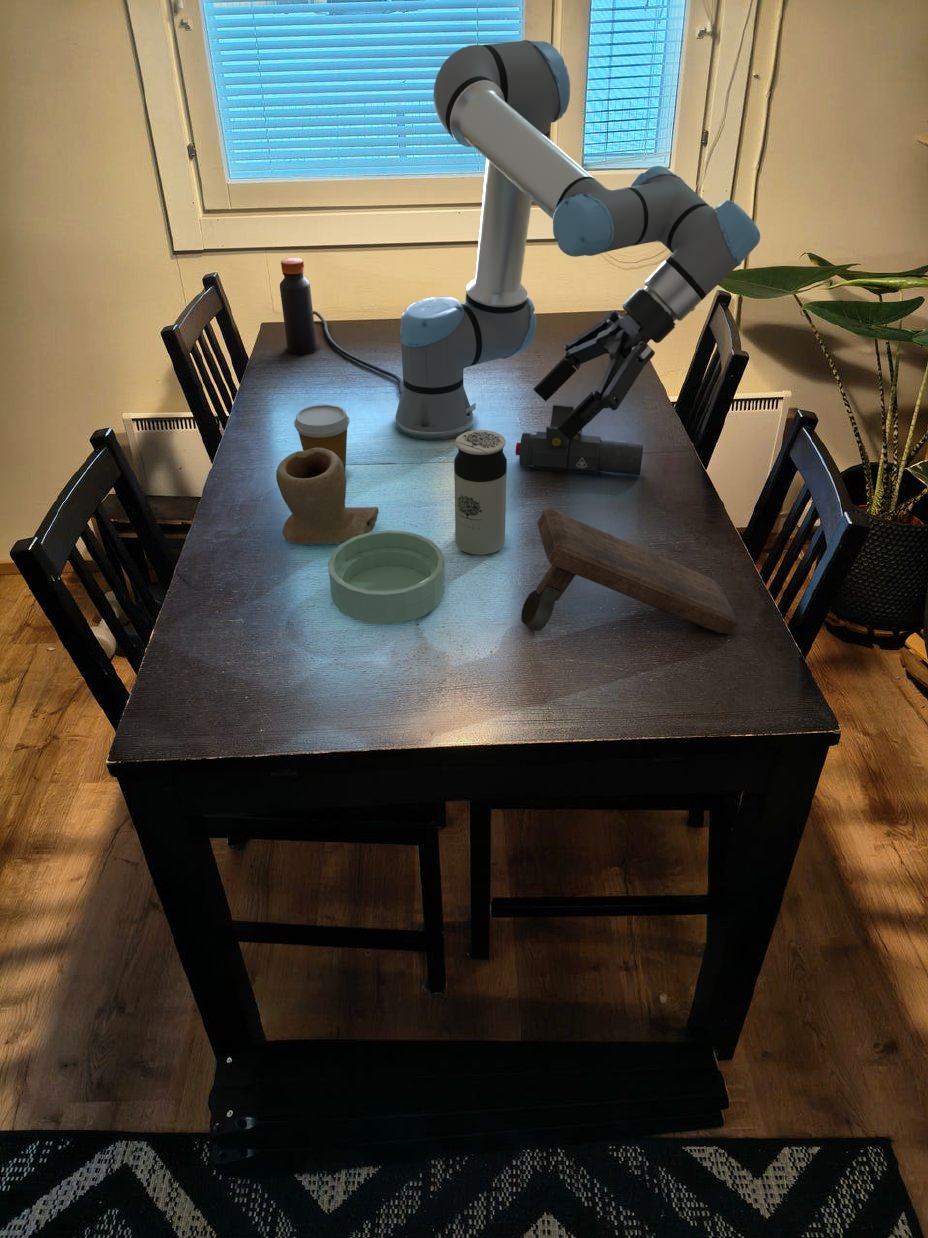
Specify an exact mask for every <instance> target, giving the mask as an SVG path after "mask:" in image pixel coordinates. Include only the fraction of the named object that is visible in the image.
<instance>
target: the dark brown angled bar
mask: <svg viewBox="0 0 928 1238" xmlns="http://www.w3.org/2000/svg"><path fill="white" fill-rule="evenodd" d="M536 524H537V528H538V531H539V535H540V538H541V543H542V546H543V549H544V553H545V556H546V559H547V561H548V563H549V564H550V565H551V566H550V567H549V569H548V570H547V572H545V574H544V576H543V577H542V579H541V581H540V582H539V583H538V585H537V587H536V589H534V590H532V591H531V592H530V593H529V594H528V595H527V597H526V598H525V601H524V603H523V605H522V609H521V613H520V615H521V616H520V619H521V620H520V621H521V623H522V624H523V625H524V626H526V627H528V628H531V629H533V630H536V631H541V630H543V629H544V628H545V627H546V626H547V624H548V623H549V622H550V620H551V617H552V614H553V611H554V609H555V608H554V607H555V603H556V602H557V601H559V600H560V598H561V597H562V596H563V594H564V593H565V591H566V590H567V589H568V587H569V586H570V584H571V583H572V581H573V580H574V579H575V577H576V576H577V577H578V576H579V577H581V578H583V579H586V580H588V581H591V582H592V583H595V584H597V585H600V586H603V587H605V588H608V589H610V590H613V591H614V592H617V593H620V594H622V595H624V596H627V597H630V598H632V599H635V600H637V601H639V602H642V603H644V604H647V605H649V606H652V607H654V608H656V609H659V610H661V611H664V612H666V613H669V614H671V615H674V616H675V617H678V618H681V619H683V620H685V621H688V622H690V623H692V624H695V625H698V626H700V627H702V628H705V629H707V630H710V631H712V632H715V633H718V634H727V635H730V634H731V633H732V632H733V631H734V630H735V628H736V627H737V626H738V625H739V621H738V618H737V616H736V613H735V612H734V610H733V608H732V606H731V604H730V603H729V601H728V598H727V596H726V595H725V593H724V591H723V589H722V587H721V586H720V584H719V583H717V582H716V581H715V580H714V579H713V578H711V577H709V576H707V575H705V574H702V573H700V572H697V571H696V570H693V569H691V568H688V567H686V566H684V565H681V564H680V563H677V562H674V561H672V560H671V559H668V558H665V557H663V556H661V555H658V554H656V553H655V552H651V551H649V550H646V549H645V548H643V547H640V546H638V545H636V544H633V543H631V542H628V541H626V540H624V539H622V538H619V537H617V536H614V535H613V534H610V533H608V532H606V531H603V530H601V529H599V528H596V527H594V526H592V525H590V524H588V523H585V522H583V521H581V520H578V519H576V518H573V517H571V516H569V515H566V514H564V513H562V512H559V511H557V510H556V509H553V508H551V507H550V508H546V509H544V510H543V512H542V514H541V515H540V516H539V518H538V520H537V523H536Z"/></svg>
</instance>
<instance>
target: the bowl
mask: <svg viewBox="0 0 928 1238" xmlns="http://www.w3.org/2000/svg"><path fill="white" fill-rule="evenodd" d="M327 570H328V578H329V587H330V594H331V600H332V603H333V605H334V606H335V607H336V608H337V610H338V611H339V612H340V613H342V614H344V615H345V616H347V617H348V618H350V619H352V620H355V621H358V622H363V623H366V624H372V625H388V626H389V625H395V624H401V623H408V622H411V621H413V620H416V619H419V618H422V617H423V616H426V615H427V614H428V613H430V612H431V611H433V610H435V609H436V608H437V606H438V605H439V604H440V602H441V601H442V599H443V598H444V594H445V588H446V583H445V582H446V581H445V579H446V578H445V556H444V554H443V551H442V549H441V548H440V546H439V545H437V544H436V543H435V542H434V541H433V540H431V539H429V538H427V537H425V536H423V535H421V534H417V533H414V532H409V531H406V530H394V529H393V530H389V529H385V530H376V531H371V532H369V533H365V534H362V535H359V536H356V537H353V538H351V539H349V540H347V541H346V542H344V543H339V545H338V546H336V548H335V549H334V550H333V551H332V552H331V554H330V557H329V559H328V562H327Z"/></svg>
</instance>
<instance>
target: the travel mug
mask: <svg viewBox="0 0 928 1238" xmlns="http://www.w3.org/2000/svg"><path fill="white" fill-rule="evenodd" d="M454 443H455V446H456V448H457V453H456V454H455V457H454V460H453V465H454V466H453V467H454V468H453V471H454V472H453V476H454V477H453V478H454V481H453V482H454V484H453V485H454V538H455V539H454V541H455V545H456V547H457V548H458V549H459V550H461V551H462V552H465V553H467V554H471V555H477V556H478V555H479V556H481V555H490V554H493V553H496V552H498V551H500V550H502V548H503V547H504V546H505V544H506V519H507V516H506V515H507V473H508V459H507V457H506V455H505V453H504V449H505V446H506V444H507V441H506V438H505V437H504V436H503V435H502V434H501V433H498V432H496V431H494V430H493V431H492V430H488V429H473V430H468V431H467V432H465V433H463V434H461V435H459V436H457V437H456V439H455V442H454Z"/></svg>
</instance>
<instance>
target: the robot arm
mask: <svg viewBox="0 0 928 1238" xmlns="http://www.w3.org/2000/svg"><path fill="white" fill-rule="evenodd" d="M434 81H435V82H434V85H433V95H432V96H433V97H432V98H433V106H434V111H435V113H436V117H437V119H438V120H439V122H440V123H441V126H442V127H443V129H444V130H445V131H446V133H448V134H449V136H450V137H452V138H453V139H454V140H455V141H456V142H457V143H458V144H459V145H461V146H463V147H466V148H474V149H475V150H477V152H479V153H480V155H482V156H483V157H484V158H485V159H486V161H485V172H484V182H483V191H482V192H483V193H482V203H481V204H482V205H481V215H480V224H479V225H480V226H479V235H478V246H477V247H478V248H477V257H476V268H475V277H474V279H472V280H471V281H470V282H469V283H468V284H467V285H466V287H465V288H466V289H465V298H464V299H465V301H464V302H461V301H460V300H458V299H456V298H454V297H450V296H440V297H435V296H434V297H433V296H432V297H427V298H423V299H421V300H418V301H415V302H414V303H411V304H410V305H409V306H407V308H405V309H404V311H403V313H402V314H401V317H400V331H399V339H400V344H401V345H400V350H401V367H402V378H401V377H400V376H399V375H397V374H395V373H393V372H391V371H388V370H386V369H383V368H380V367H379V366H377V365H374V364H372V363H370V362H368V361H365V360H363V359H361V358H359V357H357V356H355V355H353V354H351V353H349V352H348V351H346V350H344V348H342V347H341V346H339V345H338V344H337V343H336V341H334V340H333V337H331V334H330V332H329V328H328V322H327V320H325V318H324V317H323V316H322V314H320V313H319V312H318V311H316V310H313V316H316V317H317V318H318V319H319V320H320V321H321V322H322V324H323V326H324V327H323V330H324V333H325V336H326V338H327V339H328V341H329V343H330V344H331V345H332V346H333V347H334V348H335V349H336V350H337V351H338V352H340V353H341V354H343V355H344V356H346V357H347V358H349V359H351V360H353V361H355V362H357V363H359V364H361V365H363V366H366V367H367V368H370V369H372V370H374V371H377V372H379V373H381V374H384V375H386V376H388V377H391V378H393V379H394V380H396V381H397V382H398V383H399V392H400V398H399V400H398V405H397V409H396V412H395V426H396V428H397V430H398V431H399V432H400V433H402V434H403V435H404V436H407V437H409V438H412V439H413V438H414V439H417V440H424V441H443V440H449V439H453V438H457V437H458V436H459V435H461V434H463V433H465V432H468V431H470V430H471V429H472V427H473V425H474V413H473V412H474V411H475V410H476V409H477V408H476V407H477V404H476V402H474V403H473V404H470V401H469V398H468V395H467V391H466V389H465V387H464V386H465V385H464V369H466V368H469V367H472V366H476V365H480V364H484V363H488V362H491V361H495V360H499V359H501V360H503V359H508V358H511V357H512V356H515V355H517V354H520V353H522V352H524V351H526V349H527V348H528V347H529V346H530V345H531V344H532V342H533V340H534V337H535V333H536V330H537V315H536V314H535V313H534V312H535V310H536V309H535V305H534V303H533V301H532V299H531V298H530V297H529V295H528V290H527V288H525V286H524V285H523V284H522V280H523V279H522V278H523V270H524V263H525V256H526V255H525V254H526V248H527V241H528V240H527V239H528V231H529V225H530V217H531V209H532V202H533V203H534V204H535V205H537V207H538V208H539V209H541V210H542V212H543V213H545V214H546V215H547V216H548V217H549V218H551V220H552V233H553V234H552V235H553V237H554V239H555V240H557V243H558V244H557V246H558V248H559V250H560V251H561V252H562V253H564V254H565V255H566V256H570V257H572V258H573V257H574V258H577V257H584V256H587V257H593V256H597V255H600V254H603V253H608V252H611V251H612V252H613V251H617V250H620V249H625V248H630V247H634V246H639V245H645V244H648V243H649V244H650V243H654V242H660V243H661V244H662V245H664V247H666V249H668V251H670V252H671V253H670V256H669V257H668V258H666V260H664V261H663V262H662V263H661V264H660V265H659V266H658V267H657V268H656V269H655V270H654V271H653V273H651V274H650V275H649V277H648V278H647V279H645V281H644V285H645V287H644V288H642V287H640V288H637V289H636V290H635V291H634V292H633V293H632V294H631V295H630V296H629V297H628V298H626V300H625V301H624V302H623V304H622V309H623V310H624V311H625V314H624V315H623V316H622V315H620V314H619V313H618V311H616V310H615V309H613V310H612V311H610V313H608V314H607V315H606V316H605V317H604V318H602V320H600V321H599V322H597V323H596V324H594V325H592V326H591V327H590V328H588V329H586V330H585V331H584V332H581V334H579V335H578V336H575V337H574V338H573V339H571V340H570V341H568V342H567V343H566V344H564V346H563V350H564V351H565V352H564V354H563V358H562V359H561V360H560V361H559V362H558V363H556V365H555V366H554V367H553V368H552V369H551V370H550V371H549V372H548V373H547V374H546V375H545V376H544V377H543V378H542V379H541V380H540V382H539V383H537V384H536V385H535V387H533V391H534V392H535V393H536V394H537V395H538V396H539V397H540V398H541V399H542V400H543V401H545V402H548V401H549V399H550V398H551V397H552V396H553V395H554V394H555V393H556V392H557V391H558V390H559V389H560V388H561V387H562V386H564V384H565V383H566V382H567V381H568V380H569V379H570V378H571V377H572V376H573V375H574V374H575V373H576V372H577V370H580V368H581V365H583V364H585V363H587V362H589V361H591V360H594V359H596V358H598V357H601V356H603V355H607V354H608V355H609V362H608V364H607V366H606V369H605V371H604V372H603V375H602V377H601V379H600V381H599V384H598V386H597V389H596V390H593V391H590V393H589V394H588V395H587V396H586V397H585V398H584V399H583V400H582V401H581V402H580V403H579V404H578V405H577V406H576V407H575V408H574V410H573V411H572V412H571V413H570V414H569V415H568V416H567V417H566V418H565V419H564V420H563V421H562V422H561V423H560V424H559V425H558V426H557V428H558V430H559V431H560V432H562V433H563V434H564V435H565V436H566V437H567V438H568V439H569V440H571V439H572V438H573V437H574V436H575V435H576V434H577V433H578V432H579V431H580V430H581V429H582V430H583V429H584V428H585V427H586V426H587V425H588V424H589V423H590V422H591V421H592V420H593V419H594V418H595V417H596V416H597V415H599V414H600V412H602V411H603V410H604V409H610V410H612V411H616V410H618V408H619V407H620V405H622V402H623V401H624V399H625V397H626V396H627V394H628V393H629V391H630V390H631V388H632V386H633V385H634V383H635V382H636V380H637V379H638V377H639V375H640V374H641V373H642V371H643V369H644V367H645V366H646V365H647V364H648V363H649V362H650V360H652V358H654V356H655V354H656V352H655V351H654V349H653V348H652V347H651V346H650V345H649V342H650V341H652V342H654V343H655V344H659V343H661V342H662V341H664V339H665V338H666V337H667V336H668V335H669V334H671V332H672V331H673V330H675V328H676V323H675V321H676V320H677V321H679V322H681V321H683V320H684V319H685V318H686V317H687V316H688V315H689V314H690V313H691V312H694V311H695V310H696V307H697V306H698V305H699V304H700V303H701V302H702V301H703V300H704V299H705V298H706V297H707V296H708V295H709V294H710V293H711V292H712V291H713V290H714V289H716V287H717V286H718V285H719V284H720V283H722V282H723V281H724V280H725V279H726V278H727V277H728V276H729V275H730V274H731V273H732V272H733V271H734V270H735V269H736V268H738V267H740V266H741V265H742V263H743V261H744V260H746V258H747V257H748V256H749V255H750V254H751V252H752V251H754V249H755V248H756V247H757V246H758V245H759V243H760V241H761V232H760V229H759V227H758V226H757V225H756V223H755V222H754V220H753V219H752V218H751V217H750V216H749V215H748V213H747V212H745V210H744V208H742V207H741V206H739V205H738V204H737V203H735V202H734V201H733V200H731V199H726V200H724V201H723V202H722V203H720V204H719V205H717V206H716V207H713V206H711V205H710V204H708V202H706V201H705V200H704V198H702V197H701V196H700V195H699V194H698V193H697V192H696V191H694V190H693V188H691V186H689V185H688V184H687V183H686V181H685V180H684V179H682V178H681V177H680V176H678V175H677V174H675V173H674V172H672V171H671V170H670V169H669V168H667V167H665V166H662V165H655V166H651V167H648V168H647V170H646V171H645V172H640V173H639V174H638V175H637V177H635V179H634V180H633V181H632V183H631V184H630V186H628V187H623V188H615V189H609V188H607V187H606V186H604V185H603V184H602V183H600V181H598V180H597V179H596V178H595V177H593V176H592V175H591V174H590V173H589V172H587V170H585V169H584V167H582V166H581V165H579V164H578V163H577V162H576V161H575V160H573V159H572V158H571V156H569V155H567V154H566V152H564V151H563V150H562V149H561V148H560V147H559V146H557V145H556V144H555V143H554V142H553V141H551V140H550V135H551V134H550V132H551V126H552V123H556V122H557V121H559V120H561V119H562V118H563V116H564V115H565V113H566V112H567V110H568V107H569V104H570V99H571V81H570V75H569V71H568V68H567V65H566V64H565V61H564V58H563V56H562V54H561V53H560V51H559V49H557V48H556V47H555V46H554V45H553V44H552V43H549V42H547V41H543V40H528V39H523V40H517V41H509V42H507V41H506V42H497V43H487V44H472V45H471V44H470V45H467V46H464V47H461V48H459V49H457V50H456V51H454V52H453V53H452V54H451V55H449V56H448V57H447V58H446V60H445V61H444V62H443V63H442V65H441V66H440V68H439V70H438V73H437V74H436V78H435V80H434Z"/></svg>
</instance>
